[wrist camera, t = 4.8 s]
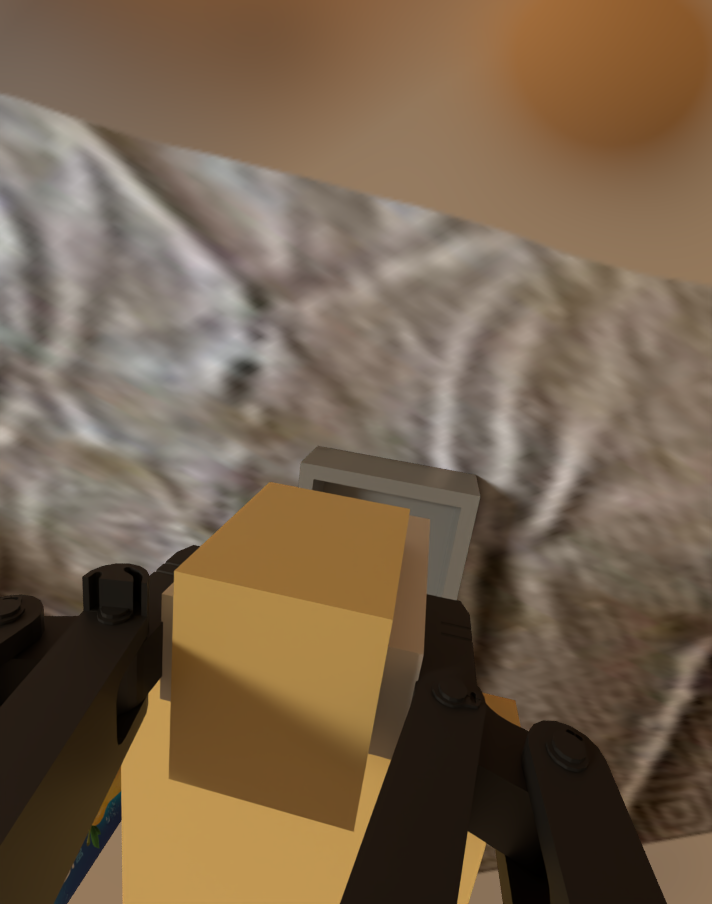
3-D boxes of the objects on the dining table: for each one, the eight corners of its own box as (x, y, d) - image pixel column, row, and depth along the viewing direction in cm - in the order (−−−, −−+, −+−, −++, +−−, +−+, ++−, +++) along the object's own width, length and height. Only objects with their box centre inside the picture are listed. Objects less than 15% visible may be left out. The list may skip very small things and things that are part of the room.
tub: (293, 660, 41) (275, 698, 37) (317, 445, 36) (300, 462, 31) (427, 693, 40) (425, 738, 35) (475, 474, 34) (480, 496, 30)
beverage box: (122, 700, 47) (-139, 1007, 26) (143, 787, 49) (-78, 1127, 28) (64, 695, 48) (-230, 983, 27) (87, 780, 51) (-164, 1100, 30)
